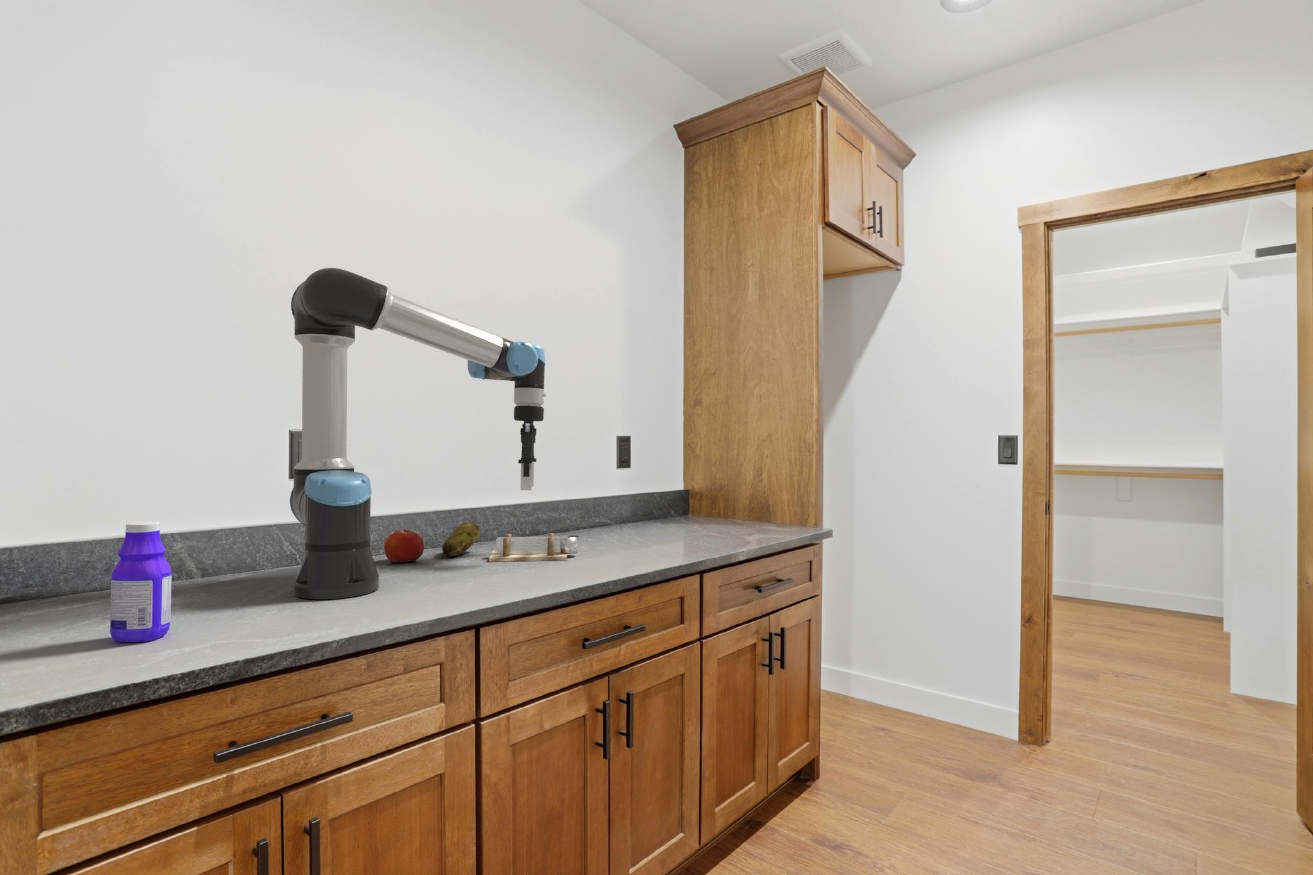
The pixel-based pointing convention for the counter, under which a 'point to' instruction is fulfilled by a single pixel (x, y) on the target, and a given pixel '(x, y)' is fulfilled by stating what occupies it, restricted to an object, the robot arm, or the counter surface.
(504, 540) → the rack
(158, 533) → the bottle
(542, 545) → the clear glass container
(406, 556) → the tomato
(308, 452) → the robot arm
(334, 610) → the counter surface
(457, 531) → the potato
